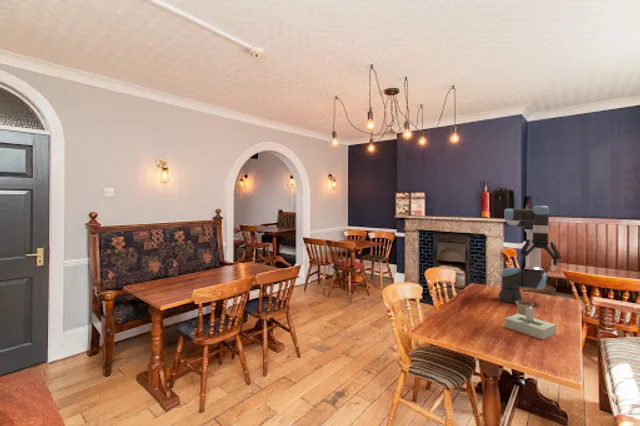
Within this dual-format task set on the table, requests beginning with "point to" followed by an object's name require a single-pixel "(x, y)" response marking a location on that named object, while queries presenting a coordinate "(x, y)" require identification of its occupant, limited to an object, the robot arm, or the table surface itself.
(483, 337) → the table surface
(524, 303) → the flower pot
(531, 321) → the pin
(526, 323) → the slot block
